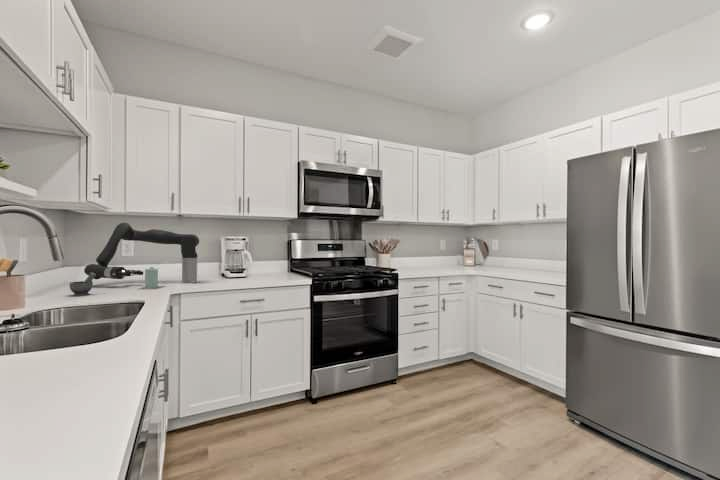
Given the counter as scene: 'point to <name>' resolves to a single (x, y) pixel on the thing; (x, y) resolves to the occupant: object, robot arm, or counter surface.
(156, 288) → the board
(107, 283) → the counter surface
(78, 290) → the mortar and pestle
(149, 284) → the green canister
